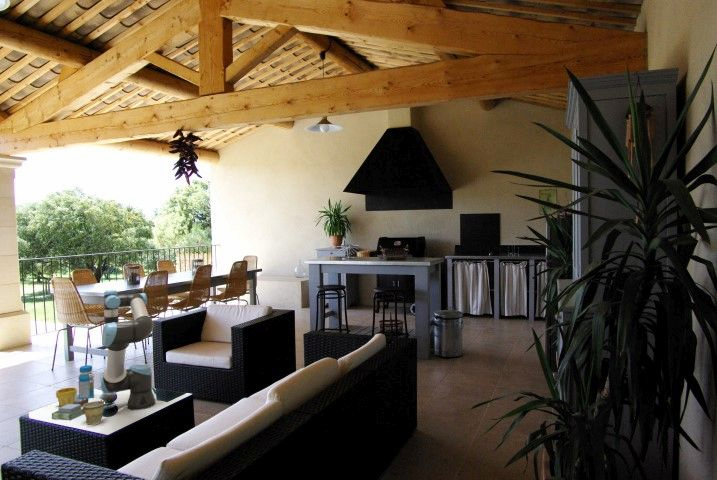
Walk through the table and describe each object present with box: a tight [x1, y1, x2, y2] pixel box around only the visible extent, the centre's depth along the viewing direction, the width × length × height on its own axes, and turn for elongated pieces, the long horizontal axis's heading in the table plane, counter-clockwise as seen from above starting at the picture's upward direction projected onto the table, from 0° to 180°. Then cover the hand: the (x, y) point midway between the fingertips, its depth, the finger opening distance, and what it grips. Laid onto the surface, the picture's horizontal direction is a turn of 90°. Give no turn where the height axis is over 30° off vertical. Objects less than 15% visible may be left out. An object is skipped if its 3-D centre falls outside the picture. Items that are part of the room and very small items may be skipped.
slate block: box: [57, 403, 81, 414], centre depth 264 cm, size 8×7×5 cm
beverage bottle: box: [77, 364, 95, 400], centre depth 296 cm, size 8×8×20 cm
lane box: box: [51, 398, 103, 421], centre depth 270 cm, size 12×25×4 cm, turn 168°
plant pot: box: [55, 387, 78, 407], centre depth 283 cm, size 10×10×10 cm
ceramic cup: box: [83, 400, 107, 426], centre depth 257 cm, size 13×10×10 cm
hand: (112, 355), depth 290 cm, fingers closed
